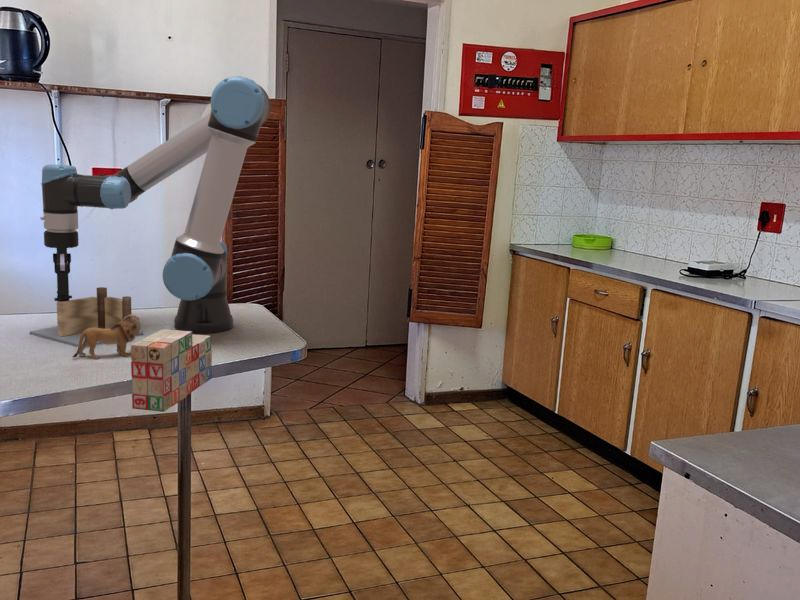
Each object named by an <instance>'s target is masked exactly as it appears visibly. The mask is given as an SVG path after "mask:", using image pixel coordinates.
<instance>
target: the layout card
mask: <svg viewBox="0 0 800 600" xmlns="http://www.w3.org/2000/svg"><path fill="white" fill-rule="evenodd" d="M82 333H83V332H80V333H76V334H71V335H66V336H60V335H58V325H57V326H51V327H47V328H41V329H36V330H30V331H29V335H33V336H37V337H40V338H45V339H48V340H51V341H56V342H59V343H63V344H67V345H71V346H75V347H77V348H78V345H79V340H80V337H81V335H82ZM142 335H144V331H140V330H139V333H138V334H137V336H136V337H138V336H142ZM84 340H85V337H84V338H83V341H82V344H83V342H84ZM82 344H81V345H82ZM97 345H102V343H100V342H98V341H97V344H96V346H97Z"/></svg>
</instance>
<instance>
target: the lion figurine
mask: <svg viewBox="0 0 800 600" xmlns="http://www.w3.org/2000/svg"><path fill="white" fill-rule="evenodd" d="M140 330H141V322H140V317H139V316H137V315H134V314H131V315H128V316H126V317H124V318H123V320H122V321H120V322H118V323H117V324H116V325H115V326H113V327H111V328H108V329H101V328H95V327H93V328H88V329H86V330H85V331H84V332H83V333H82V335H81V337H80V340H79V345H78V347H77V350H76V352H75V353H74V354H73V355H72V358H77V357H78V355H79V356H80V357H85V356H86V353H85V352H84V350H85V349H86V348H88V347H89V350H88V353H89V355H90V356H91V357H92V359H93V360H98V359H100V355H96V354H95V348H97V347H96V346H97V345H96V344H97V341H98V342H100V343H102V344H103V345H109V346H110V345H115V344H116V353H117V354H118V355H121V357H124V358H126V357H129V354H128V353H126V349H127V344H128V343H131V342H133V340H135V338H136V337H138V336H137V334H138V333H139V331H140ZM84 337H85V340H84V342H83V344H82V341H83V338H84ZM81 344H82V345H81ZM102 344H101V345H102Z"/></svg>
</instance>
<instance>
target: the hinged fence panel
mask: <svg viewBox="0 0 800 600" xmlns="http://www.w3.org/2000/svg"><path fill="white" fill-rule="evenodd" d="M56 315H57V316H56V317H57V318H56V319H57V326H58V335H60V336H66V335H71V334H76V333H80V332H84V331H85V330H86V329H88V328H93V327H95V328H98V309H97V296H89V297H82V298H77V299H69V301H62V302H57V301H56Z"/></svg>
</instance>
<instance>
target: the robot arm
mask: <svg viewBox="0 0 800 600" xmlns="http://www.w3.org/2000/svg"><path fill="white" fill-rule="evenodd" d="M270 114H271V102H270V97H269V95H268V93H267V92H266V90H265V89H264V88H263V87H262V86H260V84H258V83H256V82H255V81H254V80H253V79H250V78H249V77H244V76H241V75H239V76H238V75H237V76H236V75H235V76H229V77H227V78H224V79H222V80H221V81H220V82H218V83H217V84H216V85H215V87H214V88H213V90H212V92H211V97H210V112H209V113H208V114H206V115H205V116H204V117H202V118H200V119H199V120H197V121H195V122H193V123H192V124H191V125H189V126H187V127H186V128H185V129H183V130H182V131H180V132H178V133H177V134H175V135H174V136H172V137H170V138H168V140H166V141H164V142H163V143H162V144H159V145H158V146H156V147H155V148H153V149H152V150H150V151H148V152H146V154H144V155H142V156H141V157H140V158H138V159H136V160H135V161H133V162H132V163H130V164H129V165H127V166H126V167H124V168H122V169H120V170H119V171H117V172H116V173H114V174H111V175H109V174H108V175H88V174H87V175H86V174H85V175H84V174H79V173H78V171H77V167H76V166H74V165H67V164H46V165H44V166H43V167H42V169H41V183H40V184H41V190H42V191H41V192H42V196H41V197H42V212H43V215H41V216H40V218H39V219H40V220H41V221H43V229H45V230H44V232H43V245H44V246H45V247H46V248H51V249H56V252H55V253H52V261H53V264H54V265H53V266H54V273H55V274H56V288H57V290H56V294H57V295H56V297H54V298H53V299H54V301H55V302H56V303H57V302H62V301H69V300H70V299H73V295H70V291H69V290H70V288H69V286H70V285H69V274H70V273H71V263H72V253H68V249H73V248H77V247H78V246H79V232H78V231H77V230H78V229H79V212H78V211H79V210H78V207H81V208H83V207H86V208H101V209H109V210H114V209H115V210H117V209H122V210H123V209H125V208H127V207H128V206H129V204H131V203H133V202H134V201H136V200H137V199H138V197H139V196H141V195H143V194H144V193H145V192H146V191H148V190H150V189H151V188H153V187H154V186H156V185H158V184H159V183H161V182H163V181H164V180H165V179H167V178H169V177H170V176H171V175H174V174H175V173H177V172H178V171H180V170H182V168H185V167H186V166H187V165H190V164H191V163H192V162H194V161H196V160H197V159H199V158H200V157H202V156H203V155H204V154H205V159H204V163H203V166H202V169H201V170H202V171H201V173H200V177H199V180H198V184H197V188H196V190H195V191H196V192H195V193H194V198H193V201H192V205H191V208H190V212H189V214H188V215H189V216H188V219H187V223H186V226H185V229H184V232H183V233H182V234H180V235H179V236H176V239H175V242H174V245H173V249H172V252H171V255H170V257H169V258H168V259H167V260H166V261H165V264H164V267H163V270H162V281H163V284H164V286H165V289H166V290H167V291H168V292H169V294H171V295H172V296H174V297H176V298H177V299H180V301H179V304H178V308H177V312H176V314H175V316H174V320H173V321H174V322H173V323H174V326H173V327H174V328H175V330H179V331H192V334H193V333H194V334H195V333H196V334H207V333H209V334H211V333H221V332H224V331H229V330H230V329H232V328H234V317H233V315H232V314H231V308H230V305H229V302H228V298H227V289H228V287H227V285H228V282H227V281H228V280H227V277H228V273H227V271H228V266H227V265H228V255H229V253H228V248H227V244H226V243H225V242H224V241H222V237H223V233H224V230H225V227H226V223H227V220H228V217H229V213H230V209H231V206H232V202H233V200H234V196H235V193H236V188H237V186H238V182H239V178H240V174H241V171H242V168H243V164H244V161H245V157H246V155H247V151H248V148H249V147H251V146H253V145H255V144H256V143H257V140H258V136H259V133H260V130H261V126H262V125H263V124H264V123H265V122H266V121H267V120H268V118H269V116H270Z"/></svg>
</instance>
